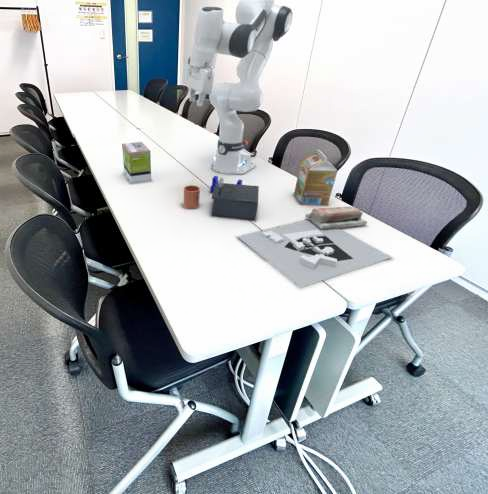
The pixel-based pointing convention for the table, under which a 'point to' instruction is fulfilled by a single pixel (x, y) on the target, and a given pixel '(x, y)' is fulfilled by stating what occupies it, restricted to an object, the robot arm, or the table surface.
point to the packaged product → (336, 217)
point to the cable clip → (215, 180)
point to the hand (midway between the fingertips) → (195, 103)
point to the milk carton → (315, 180)
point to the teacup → (191, 197)
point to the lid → (235, 192)
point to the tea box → (137, 162)
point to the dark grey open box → (234, 209)
